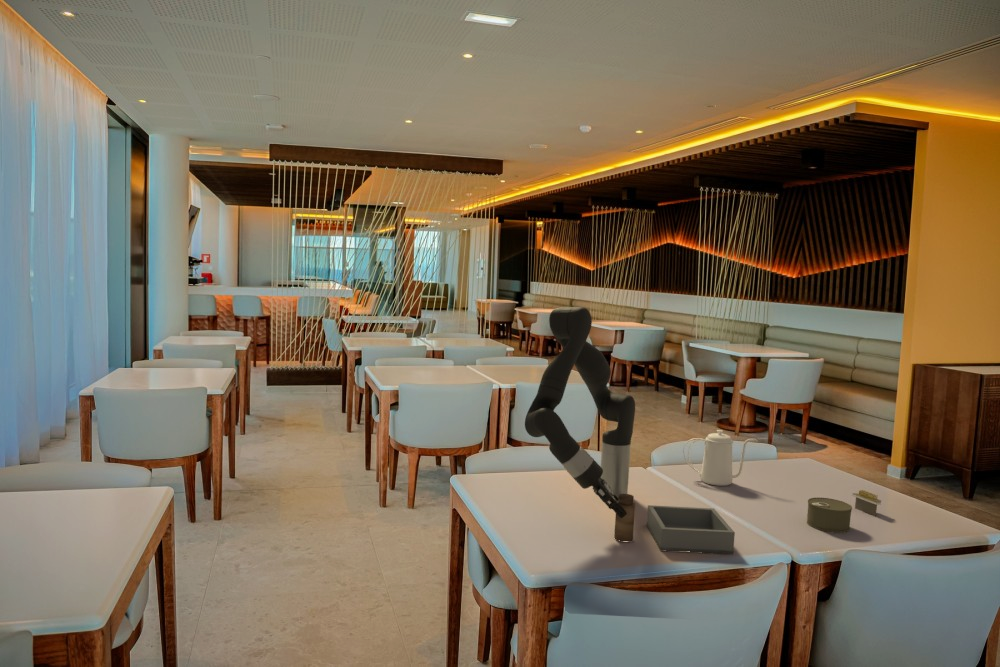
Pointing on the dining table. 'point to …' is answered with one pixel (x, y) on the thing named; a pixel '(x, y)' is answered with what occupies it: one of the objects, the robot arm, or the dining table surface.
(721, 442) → the coffeepot
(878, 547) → the dining table surface
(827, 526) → the can
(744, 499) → the dining table surface
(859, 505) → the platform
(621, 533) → the pepper mill
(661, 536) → the serving bin
